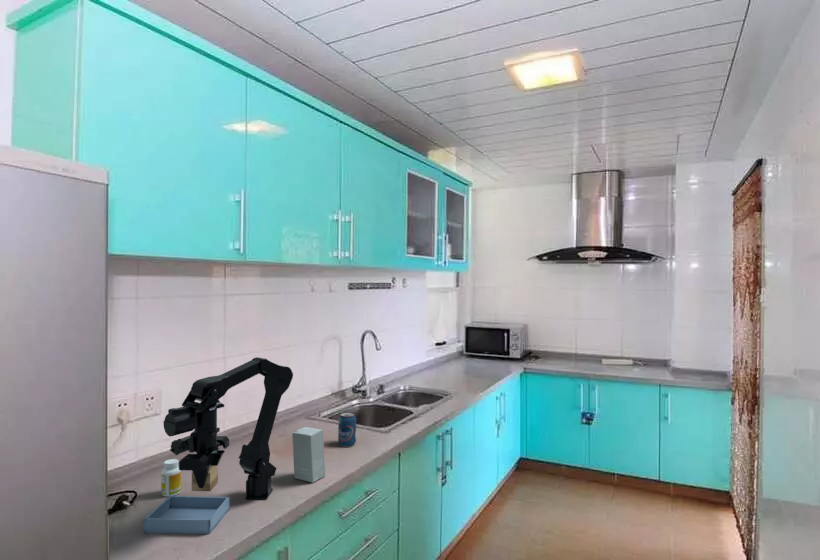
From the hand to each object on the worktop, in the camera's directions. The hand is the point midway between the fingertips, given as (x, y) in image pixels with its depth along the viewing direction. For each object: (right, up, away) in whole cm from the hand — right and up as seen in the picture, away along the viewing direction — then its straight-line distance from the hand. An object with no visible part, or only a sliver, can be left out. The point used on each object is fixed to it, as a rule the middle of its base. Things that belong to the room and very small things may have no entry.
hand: (205, 483), depth 134 cm
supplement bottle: (-17, -10, +15) cm, 25 cm away
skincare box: (+22, -10, +28) cm, 37 cm away
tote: (-4, -10, -1) cm, 10 cm away
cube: (0, -1, 0) cm, 1 cm away
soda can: (+31, -10, +59) cm, 68 cm away
